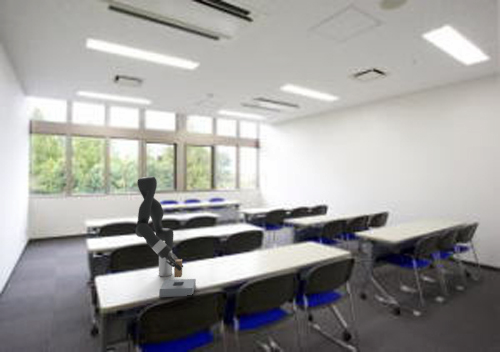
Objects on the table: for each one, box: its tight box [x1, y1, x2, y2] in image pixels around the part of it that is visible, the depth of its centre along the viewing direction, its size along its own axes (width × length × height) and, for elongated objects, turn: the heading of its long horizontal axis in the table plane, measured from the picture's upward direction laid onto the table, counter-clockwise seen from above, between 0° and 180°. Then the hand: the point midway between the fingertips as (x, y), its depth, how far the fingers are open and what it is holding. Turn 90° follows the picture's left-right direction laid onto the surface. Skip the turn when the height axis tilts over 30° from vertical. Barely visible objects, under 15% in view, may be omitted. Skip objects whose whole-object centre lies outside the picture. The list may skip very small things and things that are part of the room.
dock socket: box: [158, 278, 197, 298], centre depth 164 cm, size 15×19×4 cm
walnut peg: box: [173, 258, 183, 278], centre depth 164 cm, size 4×4×10 cm
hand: (181, 268), depth 164 cm, fingers closed on walnut peg, 4 cm apart
